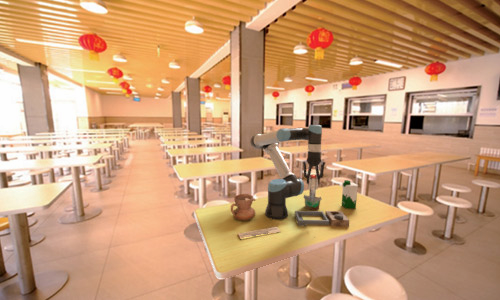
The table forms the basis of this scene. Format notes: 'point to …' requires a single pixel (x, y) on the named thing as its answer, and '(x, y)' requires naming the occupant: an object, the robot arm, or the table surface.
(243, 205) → the ceramic jug
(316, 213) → the tray
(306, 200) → the half moon wedge
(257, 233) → the newspaper
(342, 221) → the block
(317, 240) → the table surface
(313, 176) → the pin
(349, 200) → the milk carton
